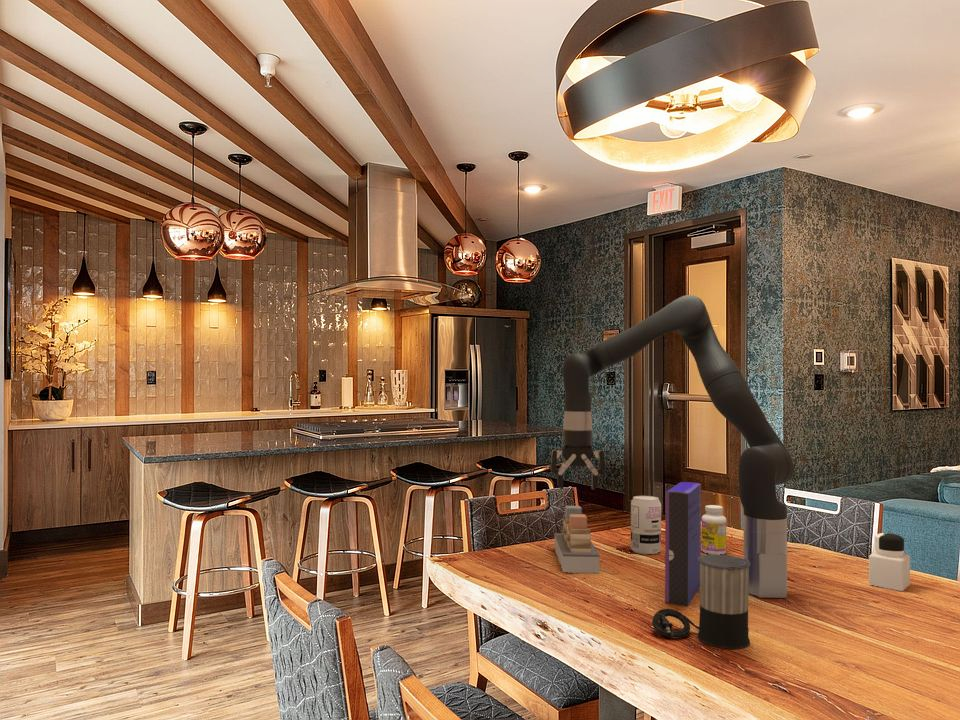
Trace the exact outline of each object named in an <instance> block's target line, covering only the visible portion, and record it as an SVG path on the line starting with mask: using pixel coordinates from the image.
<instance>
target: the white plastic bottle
mask: <svg viewBox="0 0 960 720" xmlns="http://www.w3.org/2000/svg"><path fill="white" fill-rule="evenodd" d="M868 585H869V586H871V585H874V586H873V587H876V586H879V587H878V588H882V587H883V588H882V589H887V590H893V591H898V592H903V591H905V590H906V589H907V588H908V587H909V586H910V585H911V556H910V555H909V554H905V538H904V537H903V536H902V535H900V534H895V533H891V532H890V533H889V532H881V533H877V534H875V535H874V552H872V553H871V554H869V556H868Z"/></svg>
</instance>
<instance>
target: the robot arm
mask: <svg viewBox="0 0 960 720" xmlns="http://www.w3.org/2000/svg"><path fill="white" fill-rule="evenodd" d="M675 331H676V333H677V334H678V335H679V337H680V338H681V339H682V341H683V342H684V344H685V345H686V347H687V349H688V350H689V351H690V353H691V355H692V357H693V359H694V361H695V363H696V367H697V371H698V373H699V376H700V379H701V382H702V384H703V386H704V388H705V391H706V393H707V395H708V397H709V399H710V401H711V403H712V404H713V406H714V407H715V408H716V409H717V411H718V412H719V413H720V414H721V415H722V416H723V417H724V419H726V420H727V421H728V422H729V423H730V424H731V425H732V426H733V427H735V428H736V430H737V431H739V433H740V434H742V436H743V437H744V439H745V441H746V442H747V445H748V446H749V447H747V448H746V449H744V450H743V452H742V453H741V455H740V458H739V461H738V488H739V499H740V500H739V501H740V503H741V505H742V509H743V559H745V560H747V561H749V562H750V566H749V590H748V595H753V596H757V598H768V599H771V598H773V599H775V598H779V599H780V598H781V599H787V598H788V596H787V595H788V508H787V506H786V503H784V502H781V501H780V500H779V499H778V497H777V489H776V486H778V485H784V484H786V483H788V482H790V481H791V479H792V478H793V475H794V472H795V464H794V462H793V461H794V460H793V458H792V456H791V454H790V452H789V450H788V449H787V447H786V446H785V444H784V443H783V441H782V440H781V438H780V437H779V436H778V434H777V433H776V432H775V430H774V428H773V427H772V425H771V424H770V423H769V421H768V419H767V418H766V416H765V414H764V412H763V410H762V408H761V406H760V405H759V402H757V400H756V398H755V396H754V395H753V392H752V390H751V388H750V386H749V384H748V383H747V381H746V379H745V377H744V375H743V373H742V372H741V370H740V369H739V366H737V364H736V363H735V361H734V360H733V358H732V357H731V356H730V355H729V354H728V353H727V351H726V350H725V349H724V348H723V346H722V345H721V343H720V340H719V339H718V336H717V333H716V332H715V330H714V327H713V324H712V321H711V318H710V315H709V312H708V310H707V307H706V304H705V303H704V301H703V300H702V299H701V298H700V297H698V296H696V295H692V294H687V295H682V296H680V297H678V298H675V299H674V300H673V301H672V302H669V303H668V304H667V305H666V306H664V307H662V308H661V309H660V310H658V311H656V312H655V313H653V314H652V315H650V316H648V317H647V318H645V319H643V320H642V321H640V322H638V323H637V324H635V325H633V326H631V327H630V328H628V329H626V330H624V331H621V332H620V333H617V334H614V335H613V336H611V337H609V338H607V339H604V340H602V341H600V342H599V343H597V344H596V345H595V346H594V347H592V348H589V349H587V350H585V351H583V352H580V353H572V354H570V355H568V356H567V357H566V358H565V359H564V361H563V365H562V379H563V387H564V395H565V396H564V415H563V448H562V450H557V449H555V448H554V449H552V450H551V457H550V458H551V459H550V471H551V473H553V474H556V477H557V479H556V481H557V483H556V484H557V487H558V488H559V489H560V490H564V475H563V474H565V471H566V470H567V469H568V468H569V466H570V467H573V468H575V467H579V468H580V467H581V468H582V467H583V468H584V467H587V468H588V469H589V470H590V472H591V473H592V474H591V482H590V483H591V486H590V488H591V490H593V491H595V490H596V488H598V485H599V484H598V483H599V475H602V474H605V473H606V465H605V464H606V463H605V452H604V451H603V449H599V450H593V417H592V395H591V392H590V388H589V385H590V382H589V381H590V380H589V378H590V377H592V376H594V375H596V374H598V373H600V372H602V371H603V370H605V369H608V368H609V367H610V368H611V367H613V366H614V365H617V364H619V363H623V361H626V360H628V359H631V358H632V357H634V356H636V355H637V354H639V352H641V351H642V350H644V349H645V348H646V347H647V346H648V345H650V344H651V343H652V342H653V341H655V340H656V339H658V338H660V337H662V336H664V335H667V334H670V333H672V332H675ZM560 456H562V457H563V458H564V461H563V462H562V463H561V465H560V467H559V468H557V460H558V459H559V458H560ZM593 456H595V458H596V459H597V460H598V468H595V466H594V465H593V463H592V462H591V460H592V458H593Z"/></svg>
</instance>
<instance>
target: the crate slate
mask: <svg viewBox="0 0 960 720" xmlns="http://www.w3.org/2000/svg"><path fill="white" fill-rule="evenodd" d="M564 508H565V510H564V511H565V513H564V515H565V519H569V514H583V512H582V511H583V509H582V507H581V506H580V505H565V507H564Z"/></svg>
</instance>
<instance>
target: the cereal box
mask: <svg viewBox="0 0 960 720" xmlns="http://www.w3.org/2000/svg"><path fill="white" fill-rule="evenodd" d="M664 497H665V500H664V501H665V502H664V503H665V505H664V506H665V509H664V511H665V512H664V513H665V514H664V516H665V520H664V521H665V522H664V523H665V526H664V528H665V529H664V532H665V534H664V537H665V538H664V543H665V544H664V545H665V546H664V551H665V554H664V555H665V556H664V560H665V561H664V563H665V564H664V565H665V567H664V584H665V585H664V594H665V595H664V603H665V604H668V603H669V604H668V605H674V604H675V605H676V606H681V605H682V606H683V607H689V605H690V604H691V602H692V601H691V600H693V599H694V597H695V596H696V594H697V593H698V591H699V590H700V588H699V587H700V562H699V560H698V558H699V557H700V556H702V549H701V538H702V483H700V482H698V483H697V482H691V481H680V482H678V483H677V484H675V485H674V486H672V487H671V488H670V489H668V490H666V491H665V496H664ZM694 595H695V596H694ZM682 606H681V607H682Z"/></svg>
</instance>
